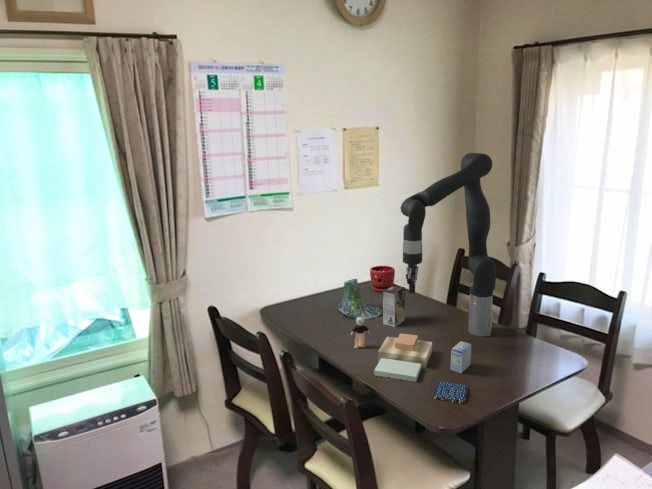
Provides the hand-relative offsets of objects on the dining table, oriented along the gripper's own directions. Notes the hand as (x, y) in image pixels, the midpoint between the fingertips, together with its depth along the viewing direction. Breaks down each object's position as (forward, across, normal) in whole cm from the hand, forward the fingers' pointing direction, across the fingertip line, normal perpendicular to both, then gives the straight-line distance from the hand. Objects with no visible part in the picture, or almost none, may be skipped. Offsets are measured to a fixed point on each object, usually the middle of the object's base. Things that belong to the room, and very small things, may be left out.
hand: (412, 292), depth 196 cm
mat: (+22, -24, 0) cm, 33 cm away
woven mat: (+23, -34, -20) cm, 45 cm away
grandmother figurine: (+22, -8, +19) cm, 30 cm away
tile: (+18, -10, 0) cm, 21 cm away
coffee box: (+22, +20, +12) cm, 32 cm away
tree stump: (+22, +27, +31) cm, 46 cm away
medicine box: (+22, -14, -21) cm, 34 cm away
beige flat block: (+22, -12, 0) cm, 25 cm away
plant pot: (+22, +62, +29) cm, 72 cm away
